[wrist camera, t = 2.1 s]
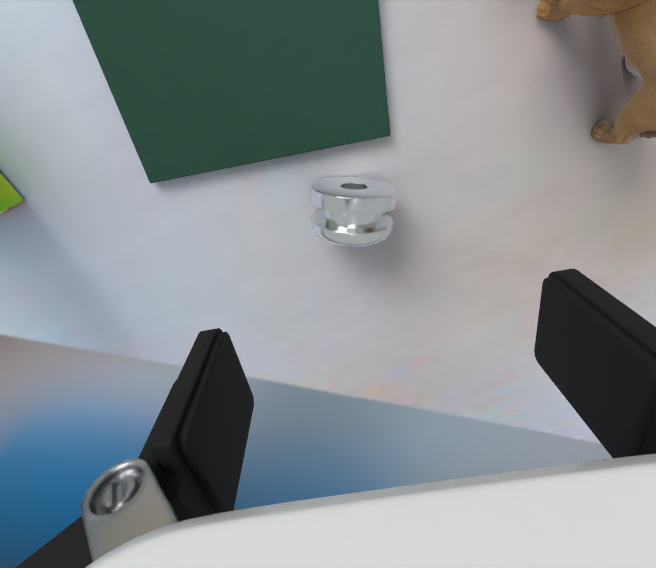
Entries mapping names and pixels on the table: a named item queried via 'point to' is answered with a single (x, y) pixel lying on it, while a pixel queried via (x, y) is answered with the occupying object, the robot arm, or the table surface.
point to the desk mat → (239, 77)
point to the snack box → (8, 195)
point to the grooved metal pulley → (352, 209)
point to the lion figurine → (640, 59)
